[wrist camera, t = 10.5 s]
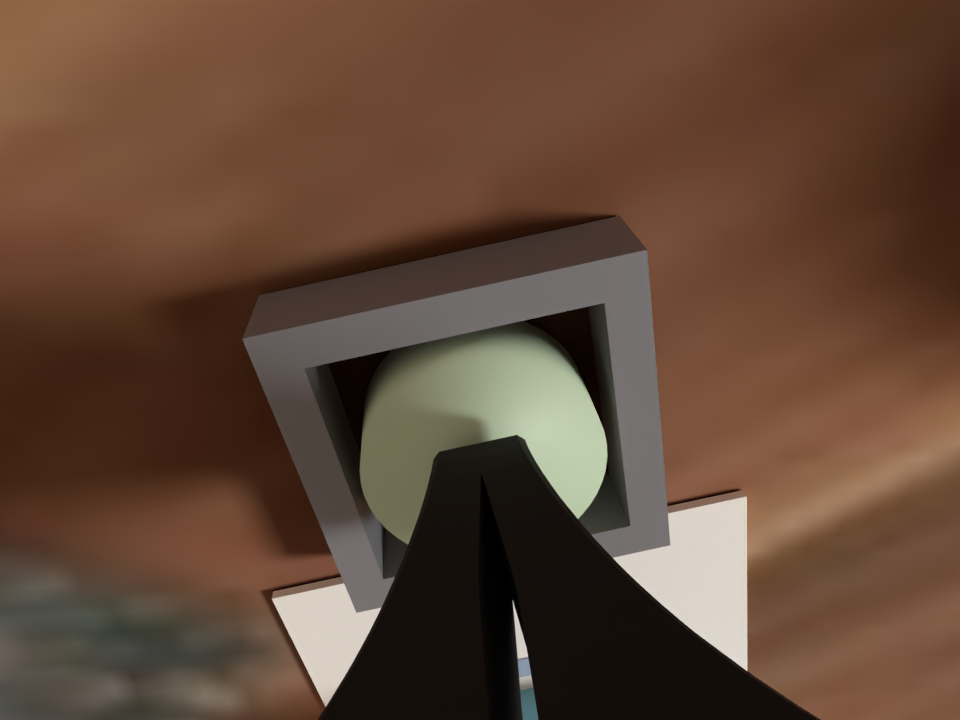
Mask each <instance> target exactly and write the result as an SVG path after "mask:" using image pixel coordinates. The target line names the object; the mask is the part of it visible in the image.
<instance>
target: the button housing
mask: <svg viewBox="0 0 960 720" xmlns="http://www.w3.org/2000/svg"><path fill="white" fill-rule="evenodd" d="M584 307H588V312H589V320H590V327H591V335H592V343H593V351H594V358H595V366H596V374H597V381H598V389H599V397H600V404H601V412H602V420H603V428H604V432H605V437H606V442H607V458H608V466H609V474H606V475H604V478H603V481H602V484H601V486H600V488H599V490H598V493H597V495H596V496H595V498H594V499H593V501H592V503H591V504H590V506H589V507H588V508H587V509H586V511H585V512H584V513H583V514H582V515H581V516H580V517H579V518H578V520H579V521H580V522H581V524H582V525H583V526H584V527H585V528H586V529H587V530H588V532H589V533H590V534H591V535H592V536H593V537H594V538H595V540H596V541H597V542H598V543H599V544H600V545H601V546H602V547H603V548H604V549H605V550H606V551H607V552H608V553H609V554H610V556H611V557H612V558H614V557H618V556H623V555H628V554H632V553H637V552H642V551H646V550H651V549H656V548H660V547H665V546H670V534H669V522H668V509H667V496H666V484H665V471H664V458H663V446H662V433H661V420H660V408H659V395H658V382H657V370H656V357H655V344H654V331H653V319H652V306H651V293H650V281H649V268H648V255H647V249H646V248H645V247H644V245H643V244H642V243H641V242H640V240H639V239H638V238H637V237H636V236H635V234H634V233H633V232H632V231H631V229H630V228H629V227H628V226H627V224H626V223H625V222H624V221H623V220H622V218H621V217H620V216H616V217H612V218H607V219H603V220H598V221H594V222H589V223H585V224H580V225H576V226H571V227H566V228H562V229H557V230H553V231H548V232H544V233H539V234H535V235H530V236H526V237H521V238H517V239H512V240H508V241H503V242H498V243H494V244H489V245H485V246H480V247H476V248H471V249H467V250H462V251H458V252H453V253H449V254H444V255H439V256H435V257H430V258H426V259H421V260H417V261H412V262H408V263H403V264H399V265H394V266H390V267H385V268H381V269H376V270H371V271H367V272H362V273H358V274H353V275H349V276H344V277H340V278H335V279H331V280H326V281H322V282H317V283H313V284H308V285H303V286H299V287H294V288H290V289H285V290H281V291H276V292H272V293H267V294H263V295H259V297H258V299H257V302H256V304H255V307H254V310H253V312H252V315H251V317H250V320H249V322H248V325H247V328H246V330H245V333H244V335H243V338H242V340H243V342H244V344H245V347H246V349H247V352H248V354H249V356H250V359H251V361H252V364H253V366H254V368H255V371H256V373H257V376H258V378H259V380H260V383H261V385H262V388H263V390H264V392H265V395H266V397H267V400H268V402H269V404H270V407H271V409H272V412H273V414H274V416H275V419H276V421H277V424H278V426H279V428H280V431H281V433H282V436H283V438H284V440H285V443H286V445H287V448H288V450H289V452H290V455H291V457H292V460H293V462H294V464H295V467H296V469H297V472H298V474H299V476H300V479H301V481H302V484H303V486H304V488H305V491H306V493H307V496H308V498H309V500H310V503H311V505H312V508H313V510H314V512H315V515H316V517H317V520H318V522H319V524H320V527H321V529H322V532H323V534H324V536H325V539H326V541H327V544H328V546H329V548H330V551H331V553H332V556H333V558H334V560H335V563H336V565H337V568H338V570H339V572H340V575H341V577H342V580H343V582H344V584H345V587H346V589H347V592H348V594H349V596H350V599H351V601H352V604H353V606H354V608H355V611H356V613H358V612H363V611H367V610H372V609H377V608H381V607H382V605H383V603H384V601H385V599H386V597H387V594H388V592H389V590H390V587H391V585H392V583H393V581H394V578H395V576H396V574H397V571H398V569H399V567H400V565H401V562H402V560H403V557H404V555H405V552H406V550H407V547H408V544H406V543H405V542H403V541H402V540H400V539H398V538H397V537H395V536H394V535H393V534H392V533H391V532H389V531H388V530H387V529H386V528H385V527H384V526H383V525H382V524H381V523H380V521H379V520H378V519H377V518H376V517H375V515H374V514H373V512H372V511H371V509H370V507H369V505H368V503H367V501H366V499H365V496H364V493H363V490H362V486H361V480H360V457H361V455H360V452H359V449H358V446H357V443H356V441H355V438H354V435H353V432H352V429H351V426H350V424H349V421H348V418H347V415H346V412H345V409H344V407H343V404H342V401H341V398H340V395H339V392H338V390H337V387H336V384H335V381H334V378H333V375H332V373H331V370H330V367H329V364H328V363H333V362H337V361H342V360H346V359H351V358H356V357H360V356H365V355H369V354H374V353H378V352H383V351H387V350H392V349H397V348H401V347H406V346H410V345H415V344H419V343H424V342H429V341H433V340H438V339H442V338H447V337H451V336H456V335H460V334H465V333H470V332H474V331H479V330H483V329H488V328H492V327H497V326H502V325H506V324H511V323H515V322H520V321H524V320H529V319H533V318H538V317H543V316H547V315H552V314H556V313H561V312H565V311H570V310H575V309H579V308H584Z"/></svg>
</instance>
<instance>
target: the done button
mask: <svg viewBox="0 0 960 720" xmlns="http://www.w3.org/2000/svg"><path fill="white" fill-rule="evenodd" d="M514 435H518V436H520V437H522V438H523V439H525V441H526V443H527V446H528V448H529V450H530V452H531V454H532V456H533V457H534V459H535V461H536V463H537V464H538V466H539V467H540V469H541V471H542V472H543V474H544V475H545V477H546V478H547V480H548V481H549V482H550V484H551V485H552V487H553V488H554V490H555V491H556V492H557V494H558V495H559V496H560V498H561V499H562V500H563V501H564V503H565V504H566V505H567V506H568V508H569V509H570V510H571V511H572V512H573V514H574V515H575V516H576V517H577V519H578V518H579V517H580V516H581V515H582V514H583V513H584V512H585V511H586V509H587V508H588V507H589V506H590V504H591V503H592V501H593V499H594V498H595V496H596V495H597V493H598V490H599V488H600V486H601V484H602V481H603V478H604V474H605V471H606V464H607V442H606V437H605V432H604V429H603V427H602V424H601V421H600V419H599V417H598V414H597V412H596V410H595V407H594V405H593V402H592V400H591V398H590V395H589V393H588V391H587V388H586V386H585V384H584V381H583V379H582V377H581V374H580V372H579V369H578V367H577V365H576V364H575V362H574V360H573V359H572V357H571V356H570V354H569V353H568V352H567V351H566V349H565V348H564V347H563V346H562V345H561V344H560V343H559V342H558V341H557V340H555V339H554V338H553V337H552V336H550V335H549V334H547V333H546V332H544V331H543V330H541V329H539V328H537V327H535V326H533V325H531V324H529V323H527V322H524V321H520V322H515V323H511V324H506V325H502V326H497V327H492V328H488V329H483V330H479V331H474V332H470V333H465V334H460V335H456V336H451V337H447V338H442V339H438V340H433V341H429V342H424V343H419V344H415V345H410V346H406V347H401V348H397V349H392V350H391V351H390V352H389V353H388V354H387V355H386V357H385V358H384V359H383V360H382V362H381V363H380V364H379V366H378V367H377V369H376V371H375V373H374V374H373V376H372V378H371V381H370V383H369V386H368V388H367V392H366V397H365V401H364V414H363V429H362V443H361V457H360V480H361V486H362V490H363V493H364V496H365V499H366V501H367V503H368V505H369V507H370V509H371V511H372V512H373V514H374V515H375V517H376V518H377V519H378V520H379V521H380V523H381V524H382V525H383V526H384V527H385V528H386V529H387V530H388V531H389V532H391V533H392V534H393V535H394V536H395V537H397V538H398V539H400V540H402V541H403V542H405V543H406V544H409V541H410V539H411V536H412V533H413V530H414V527H415V525H416V522H417V519H418V516H419V513H420V510H421V507H422V504H423V500H424V497H425V494H426V490H427V486H428V483H429V478H430V474H431V470H432V464H433V459H434V458H435V456H436V455H437V454H438V452H440V451H445V450H449V449H454V448H458V447H463V446H468V445H472V444H477V443H481V442H486V441H491V440H495V439H500V438H505V437H509V436H514Z"/></svg>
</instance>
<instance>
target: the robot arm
mask: <svg viewBox="0 0 960 720" xmlns="http://www.w3.org/2000/svg"><path fill="white" fill-rule="evenodd" d="M513 603H514V606H515V610H516V613H517V617H518V620H519V623H520V627H521V630H522V634H523V637H524V641H525V644H526V648H527V653H528V659H529V665H530V671H531V677H532V683H533V689H534V695H535V701H536V708H537V714H538V720H820V719H819V718H817V717H815V716H814V715H812V714H810V713H809V712H807V711H806V710H804V709H802V708H801V707H799V706H798V705H796V704H795V703H793V702H792V701H790V700H789V699H787V698H786V697H784V696H783V695H781V694H780V693H778V692H777V691H775V690H774V689H772V688H771V687H769V686H768V685H766V684H765V683H763V682H762V681H760V680H759V679H757V678H756V677H754V676H753V675H752V674H750V673H749V672H748V671H746V670H745V669H744V668H742V667H741V666H740V665H738V664H737V663H736V662H734V661H733V660H732V659H730V658H729V657H727V656H726V655H725V654H723V653H722V652H721V651H719V650H718V649H717V648H715V647H714V646H713V645H711V644H710V643H709V642H707V641H706V640H705V639H703V638H702V637H701V636H699V635H698V634H697V633H695V632H694V631H693V630H692V629H690V628H689V627H688V626H687V625H685V624H684V623H683V622H682V621H681V620H680V619H678V618H677V617H676V616H675V615H674V614H672V613H671V612H670V611H669V610H668V609H667V608H665V607H664V606H663V605H662V604H661V603H660V602H658V601H657V600H656V599H655V598H654V597H653V596H652V595H651V594H650V593H648V592H647V591H646V590H645V589H644V588H643V587H642V586H641V585H640V584H639V583H638V582H636V581H635V580H634V579H633V578H632V577H631V576H630V575H629V574H628V573H627V572H626V571H625V570H624V569H623V568H622V567H621V566H620V565H619V564H618V563H617V562H616V561H615V560H614V559H613V558H612V557H611V556H610V554H609V553H608V552H607V551H606V550H605V549H604V548H603V547H602V546H601V545H600V544H599V543H598V542H597V541H596V540H595V538H594V537H593V536H592V535H591V534H590V533H589V532H588V530H587V529H586V528H585V527H584V526H583V525H582V524H581V522H580V521H579V520H578V519H577V517H576V516H575V515H574V514H573V512H572V511H571V510H570V509H569V508H568V506H567V505H566V504H565V503H564V501H563V500H562V499H561V498H560V496H559V495H558V494H557V492H556V491H555V490H554V488H553V487H552V485H551V484H550V482H549V481H548V480H547V478H546V477H545V475H544V474H543V472H542V471H541V469H540V467H539V466H538V464H537V463H536V461H535V459H534V457H533V456H532V454H531V452H530V450H529V448H528V446H527V443H526V441H525V439H523V438H522V437H520V436H518V435H514V436H509V437H505V438H500V439H495V440H491V441H486V442H481V443H477V444H472V445H468V446H463V447H458V448H454V449H449V450H445V451H440V452H438V454H437V455H436V456H435V458H434V459H433V464H432V470H431V474H430V478H429V483H428V486H427V490H426V494H425V497H424V500H423V504H422V507H421V510H420V513H419V516H418V519H417V522H416V525H415V527H414V530H413V533H412V536H411V539H410V541H409V544H408V547H407V550H406V552H405V555H404V557H403V560H402V562H401V565H400V567H399V569H398V571H397V574H396V576H395V578H394V581H393V583H392V585H391V587H390V590H389V592H388V594H387V597H386V599H385V601H384V603H383V605H382V608H381V610H380V612H379V614H378V616H377V618H376V620H375V622H374V624H373V626H372V628H371V630H370V632H369V634H368V635H367V637H366V639H365V641H364V643H363V645H362V647H361V648H360V650H359V652H358V654H357V656H356V658H355V659H354V661H353V663H352V665H351V666H350V668H349V670H348V672H347V673H346V675H345V677H344V678H343V680H342V681H341V683H340V685H339V686H338V688H337V690H336V691H335V693H334V695H333V696H332V698H331V699H330V701H329V703H328V704H327V706H326V708H325V709H324V711H323V712H322V714H321V715H320V717H319V718H318V720H523V717H522V705H521V693H520V681H519V669H518V657H517V645H516V633H515V621H514V610H513Z"/></svg>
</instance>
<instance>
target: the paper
mask: <svg viewBox="0 0 960 720" xmlns="http://www.w3.org/2000/svg"><path fill="white" fill-rule="evenodd" d="M667 509H668V522H669V534H670V546H665V547H660V548H656V549H651V550H646V551H642V552H637V553H632V554H628V555H623V556H618V557H614V558H613V559H614V560H615V561H616V562H617V563H618V564H619V565H620V566H621V567H622V568H623V569H624V570H625V571H626V572H627V573H628V574H629V575H630V576H631V577H632V578H633V579H634V580H635V581H636V582H638V583H639V584H640V585H641V586H642V587H643V588H644V589H645V590H646V591H647V592H648V593H650V594H651V595H652V596H653V597H654V598H655V599H656V600H657V601H658V602H660V603H661V604H662V605H663V606H664V607H665V608H667V609H668V610H669V611H670V612H671V613H672V614H674V615H675V616H676V617H677V618H678V619H680V620H681V621H682V622H683V623H684V624H685V625H687V626H688V627H689V628H690V629H692V630H693V631H694V632H695V633H697V634H698V635H699V636H701V637H702V638H703V639H705V640H706V641H707V642H709V643H710V644H711V645H713V646H714V647H715V648H717V649H718V650H719V651H721V652H722V653H723V654H725V655H726V656H727V657H729V658H730V659H732V660H733V661H734V662H736V663H737V664H738V665H740V666H741V667H742V668H744V669H745V670H746V671H747V496H746V495H745V493H744V491H743V490H741V491H736V492H732V493H727V494H722V495H718V496H713V497H708V498H704V499H699V500H695V501H690V502H685V503H681V504H676V505H671V506H667ZM272 601H273V603H274V605H275V607H276V609H277V611H278V613H279V615H280V617H281V619H282V621H283V623H284V625H285V627H286V629H287V631H288V633H289V635H290V637H291V639H292V641H293V643H294V645H295V647H296V649H297V651H298V653H299V655H300V657H301V659H302V661H303V663H304V665H305V667H306V669H307V671H308V673H309V675H310V677H311V679H312V681H313V683H314V685H315V687H316V689H317V691H318V693H319V695H320V697H321V699H322V701H323V703H324V705H325V707H326V706H327V704H328V703H329V701H330V699H331V698H332V696H333V695H334V693H335V691H336V690H337V688H338V686H339V685H340V683H341V681H342V680H343V678H344V677H345V675H346V673H347V672H348V670H349V668H350V666H351V665H352V663H353V661H354V659H355V658H356V656H357V654H358V652H359V650H360V648H361V647H362V645H363V643H364V641H365V639H366V637H367V635H368V634H369V632H370V630H371V628H372V626H373V624H374V622H375V620H376V618H377V616H378V614H379V612H380V610H381V608H382V607H381V608H377V609H372V610H367V611H363V612H358V613H356V611H355V608H354V606H353V604H352V601H351V599H350V596H349V594H348V592H347V589H346V587H345V584H344V582H343V580H342V577H338V578H333V579H328V580H324V581H319V582H315V583H310V584H305V585H301V586H296V587H291V588H287V589H282V590H278V591H273V595H272ZM513 610H514V621H515V633H516V645H517V657H518V669H519V681H520V690H525V689H529V688H533V683H532V677H531V671H530V665H529V659H528V653H527V648H526V644H525V641H524V637H523V634H522V630H521V627H520V623H519V620H518V617H517V613H516V610H515V606H514V603H513Z"/></svg>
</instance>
